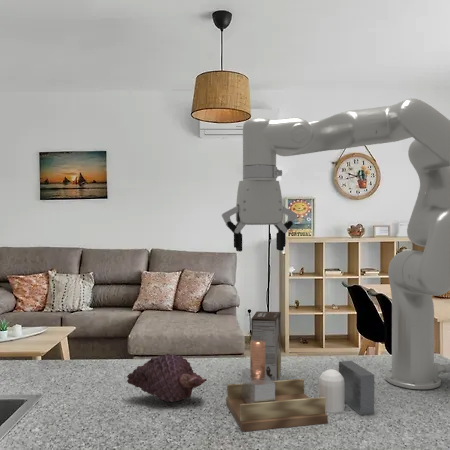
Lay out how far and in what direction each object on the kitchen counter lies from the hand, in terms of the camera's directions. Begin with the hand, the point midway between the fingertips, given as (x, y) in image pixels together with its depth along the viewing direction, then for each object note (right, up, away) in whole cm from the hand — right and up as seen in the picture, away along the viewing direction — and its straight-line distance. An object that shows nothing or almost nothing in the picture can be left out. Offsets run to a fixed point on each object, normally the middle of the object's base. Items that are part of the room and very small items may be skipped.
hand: (259, 250), depth 112 cm
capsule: (+14, -33, -9) cm, 37 cm away
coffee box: (+2, -32, +9) cm, 34 cm away
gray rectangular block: (+20, -32, -7) cm, 39 cm away
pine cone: (-20, -33, -4) cm, 39 cm away
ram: (-1, -31, -12) cm, 33 cm away
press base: (+2, -33, -11) cm, 34 cm away
